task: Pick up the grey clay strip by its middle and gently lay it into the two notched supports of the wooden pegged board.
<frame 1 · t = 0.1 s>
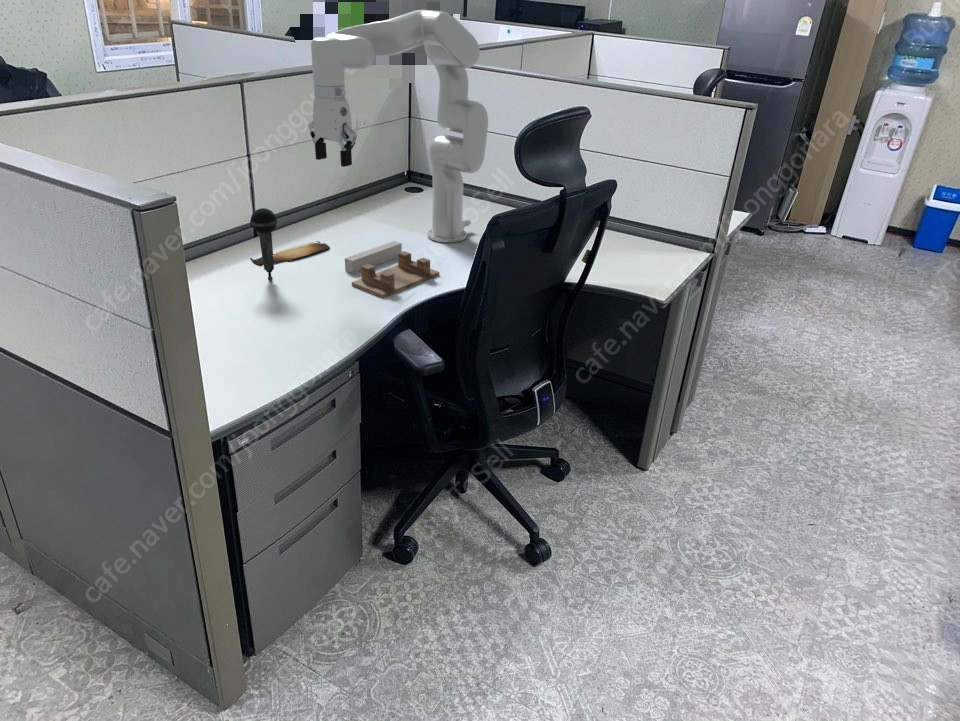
hand: (333, 162, 185), 31 cm above the table, tool pointing down, fingers open, 9 cm apart
clay strip: (374, 263, 209), on the table
parchment: (293, 255, 213), on the table
wooden pegged board: (396, 280, 198), on the table
microphone: (270, 281, 195), on the table
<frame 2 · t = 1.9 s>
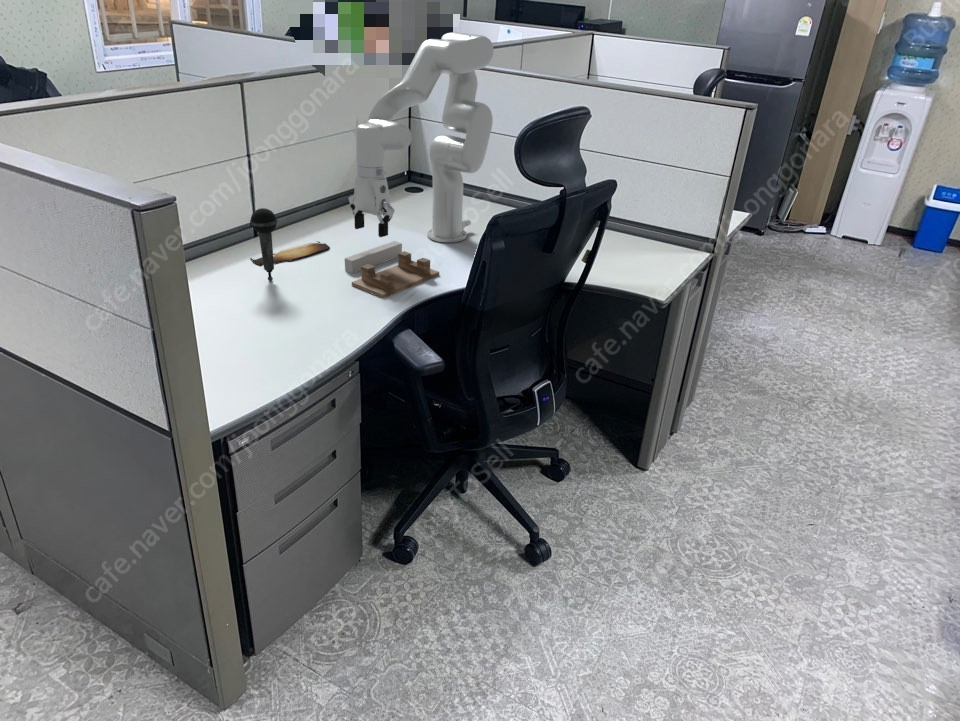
hand: (371, 232, 204), 9 cm above the table, tool pointing down, fingers open, 9 cm apart
nothing on the table moved.
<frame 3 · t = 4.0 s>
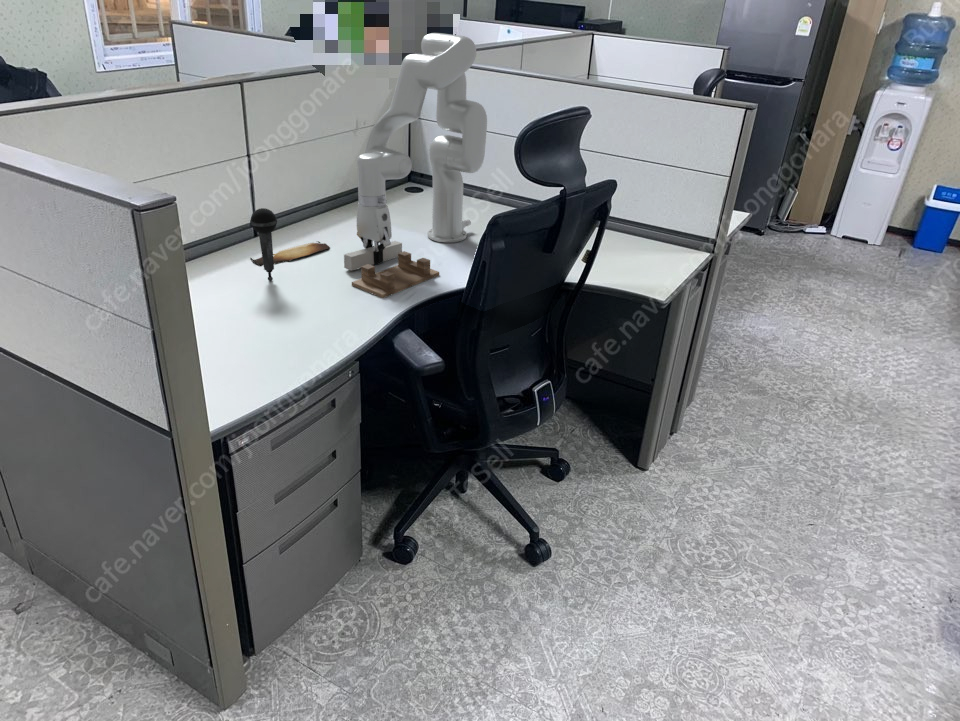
hand: (374, 261, 209), 0 cm above the table, tool pointing down, fingers closed on clay strip, 2 cm apart
clay strip: (373, 261, 209), on the table, touching gripper
everything else where it was.
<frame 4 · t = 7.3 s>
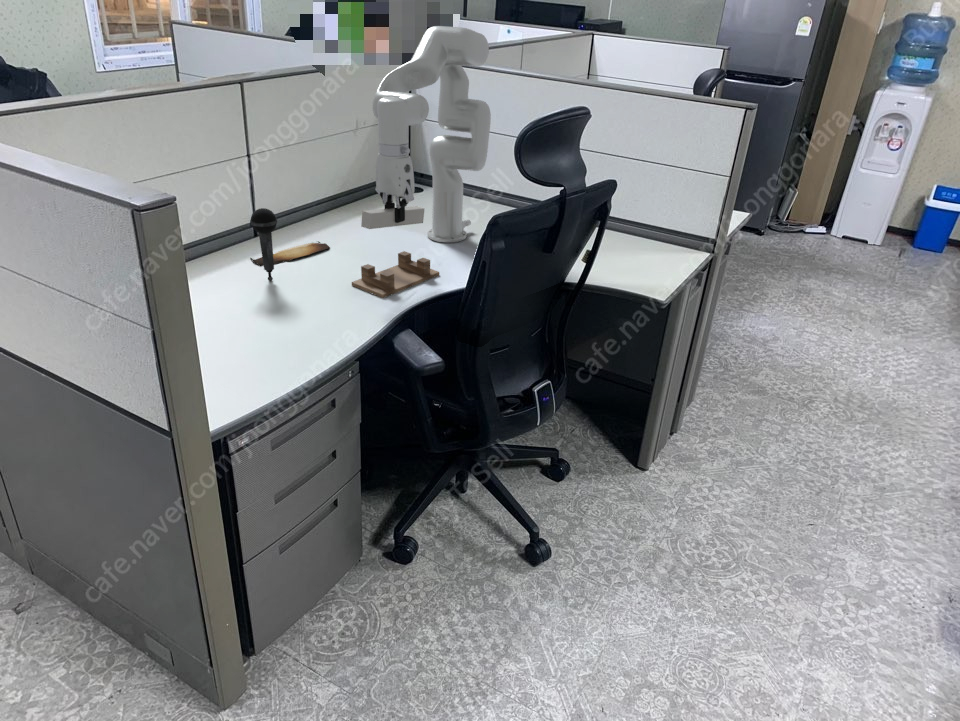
hand: (394, 219, 190), 17 cm above the table, tool pointing down, fingers closed on clay strip, 3 cm apart
clay strip: (393, 224, 190), point 16 cm above the table, tilted 8°, touching gripper
everything else where it was.
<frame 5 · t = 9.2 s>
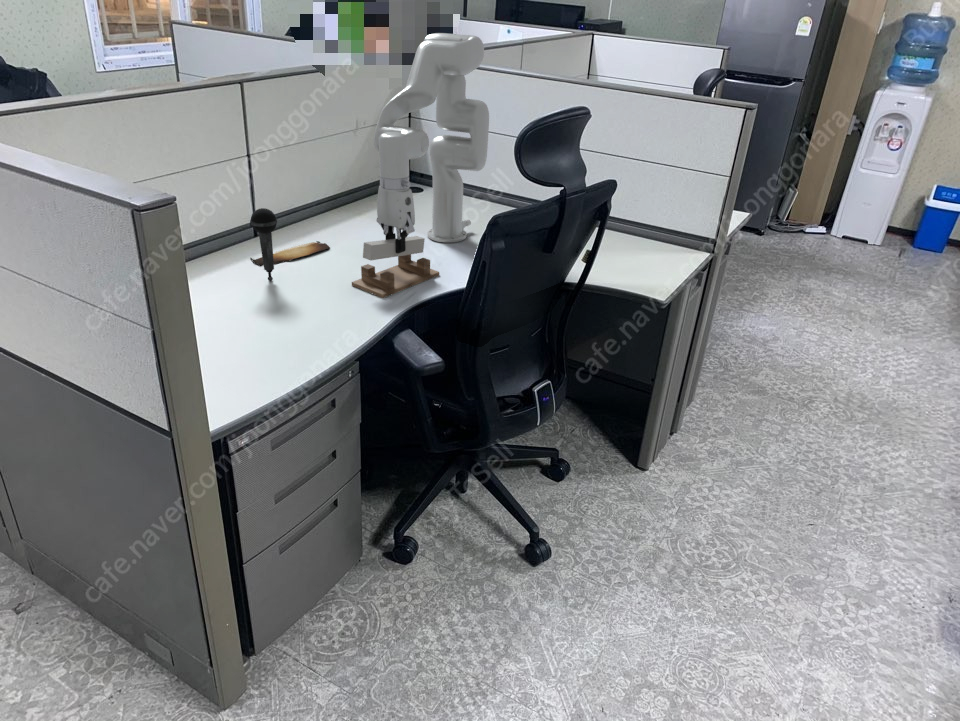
hand: (395, 249, 194), 9 cm above the table, tool pointing down, fingers closed on clay strip, 3 cm apart
clay strip: (394, 254, 194), point 8 cm above the table, tilted 9°, touching gripper
everything else where it was.
when the fingers open (5 cm above the table, at t = 10.9 s): clay strip stays where it is, resting on wooden pegged board.
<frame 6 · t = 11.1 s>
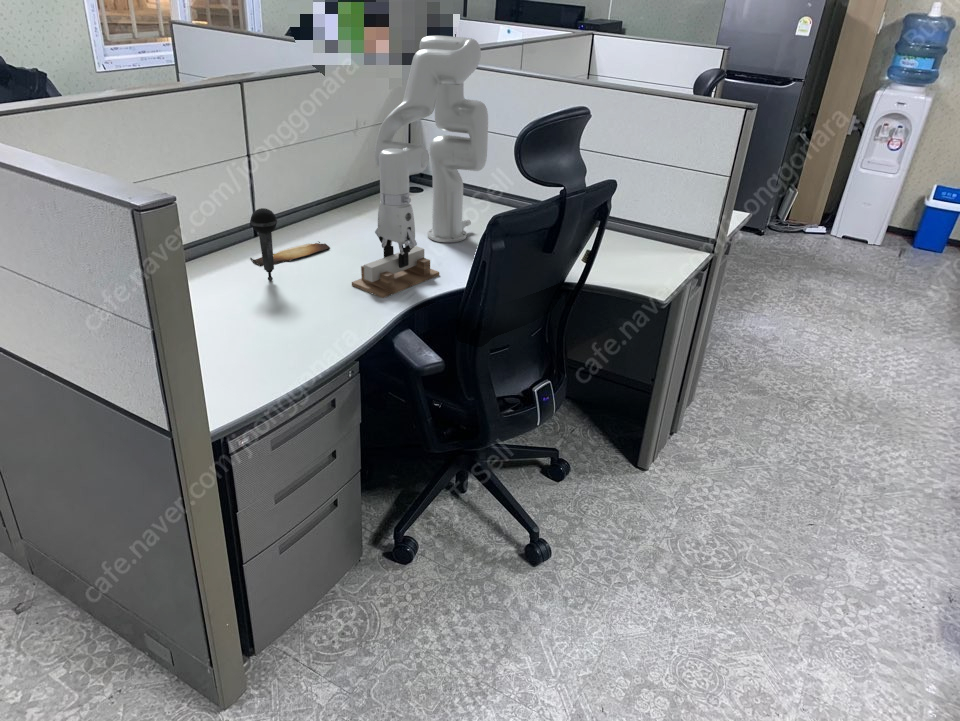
hand: (396, 263, 196), 5 cm above the table, tool pointing down, fingers open, 4 cm apart
clay strip: (395, 270, 197), point 3 cm above the table, touching wooden pegged board
everything else where it was.
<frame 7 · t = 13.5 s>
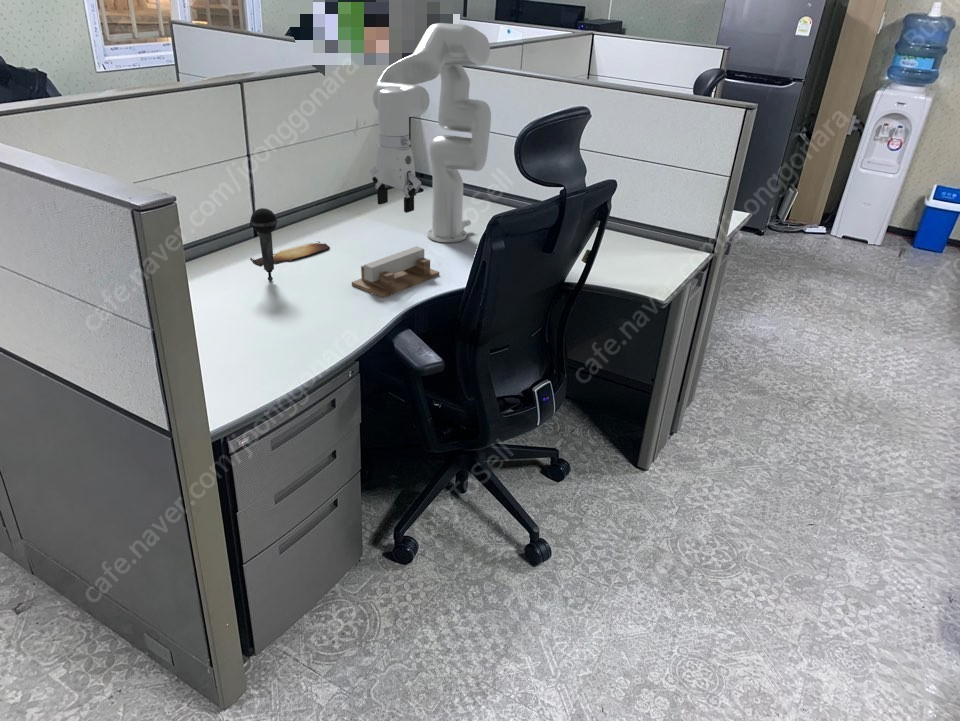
hand: (395, 207, 189), 20 cm above the table, tool pointing down, fingers open, 9 cm apart
nothing on the table moved.
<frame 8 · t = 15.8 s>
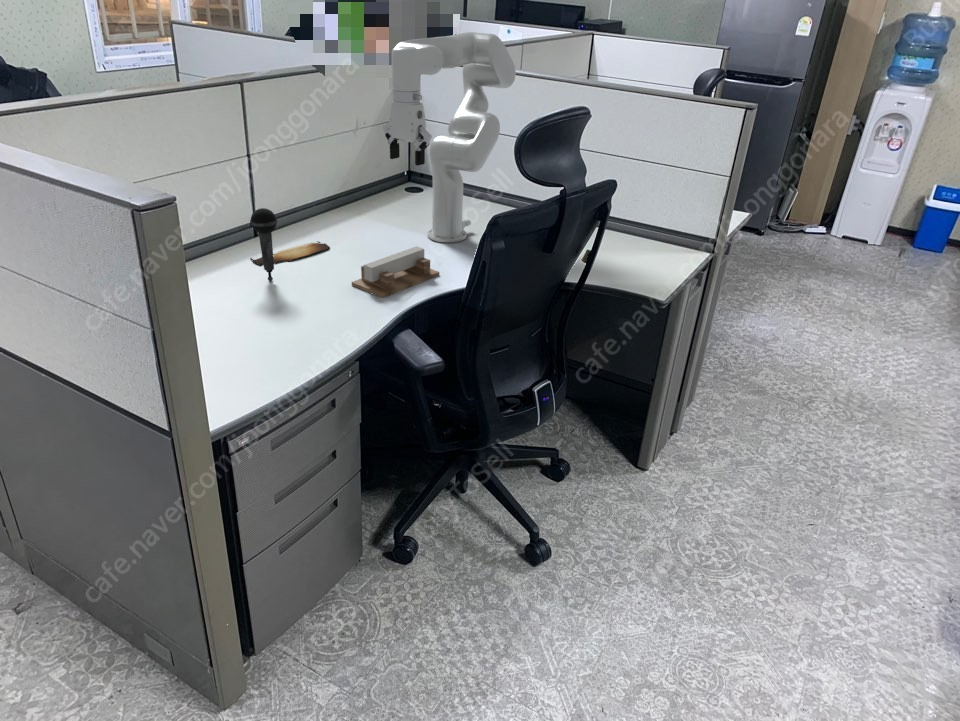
hand: (407, 161, 200), 28 cm above the table, tool pointing down, fingers open, 9 cm apart
nothing on the table moved.
at the end: clay strip 0.4 cm off-centre on the wooden pegged board, point 3.0 cm above the wooden pegged board's base; clay strip tilted 0°; the gripper is holding nothing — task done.
